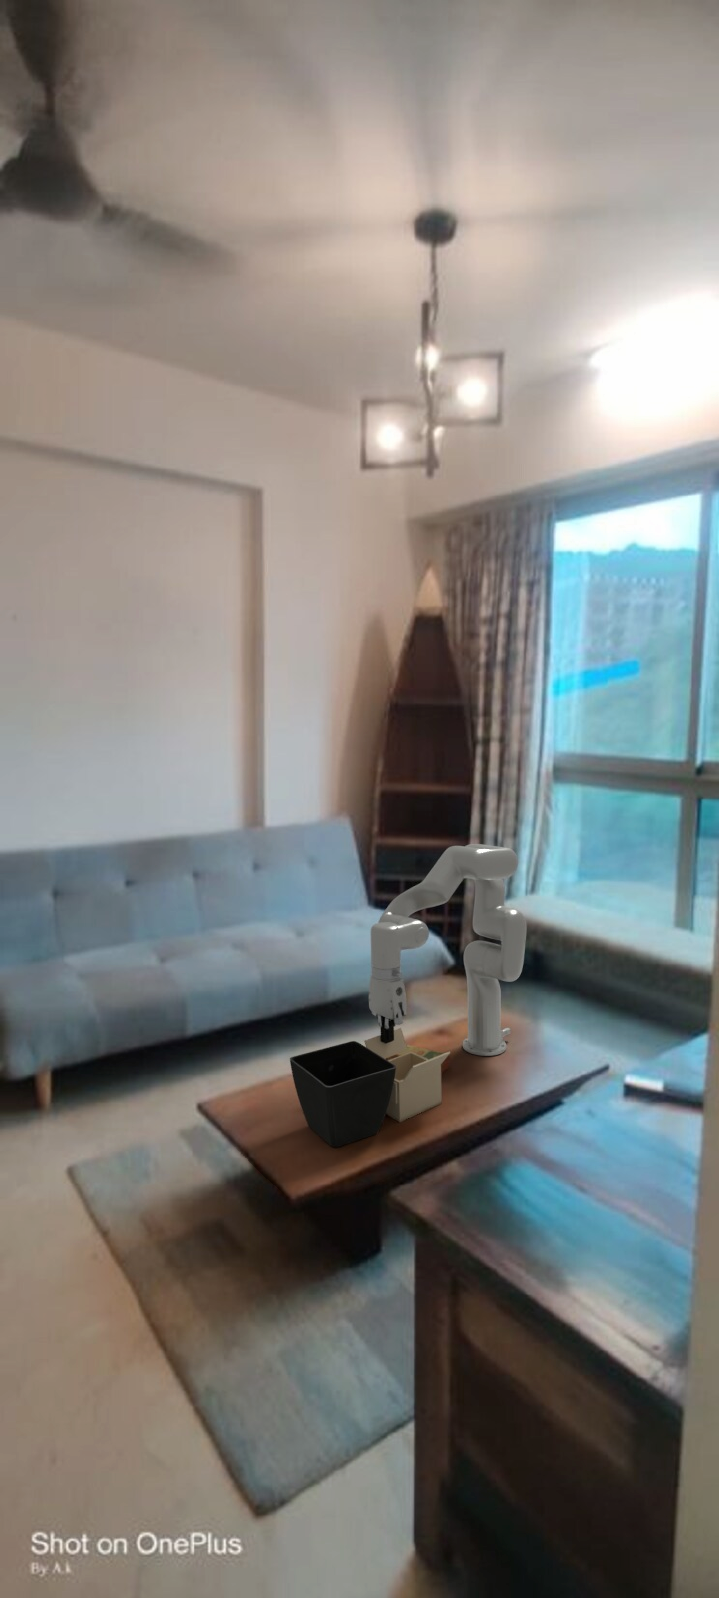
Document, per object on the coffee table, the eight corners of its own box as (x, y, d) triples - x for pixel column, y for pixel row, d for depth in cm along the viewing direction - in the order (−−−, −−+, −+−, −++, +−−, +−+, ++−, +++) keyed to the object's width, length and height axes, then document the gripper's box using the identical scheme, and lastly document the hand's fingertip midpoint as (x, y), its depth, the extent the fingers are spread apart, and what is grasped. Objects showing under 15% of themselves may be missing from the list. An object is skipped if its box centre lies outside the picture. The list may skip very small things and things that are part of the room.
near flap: (449, 1051, 193) (450, 1052, 193) (439, 1064, 197) (440, 1065, 197) (412, 1066, 186) (413, 1067, 186) (402, 1079, 189) (403, 1080, 189)
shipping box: (413, 1087, 207) (412, 1051, 206) (442, 1102, 199) (442, 1064, 198) (369, 1106, 198) (368, 1068, 197) (398, 1123, 190) (397, 1083, 189)
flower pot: (356, 1102, 200) (354, 1038, 199) (399, 1134, 185) (398, 1065, 183) (289, 1124, 190) (287, 1057, 189) (329, 1160, 175) (327, 1087, 173)
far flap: (408, 1049, 206) (407, 1050, 206) (401, 1027, 207) (400, 1027, 207) (372, 1063, 198) (371, 1063, 198) (365, 1040, 200) (364, 1040, 200)
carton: (399, 1055, 228) (399, 1041, 228) (450, 1068, 219) (450, 1053, 219) (385, 1066, 221) (384, 1051, 221) (436, 1079, 212) (436, 1064, 212)
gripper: (417, 975, 197) (418, 1046, 199) (377, 962, 208) (379, 1029, 210) (395, 982, 192) (396, 1054, 194) (355, 968, 204) (357, 1036, 206)
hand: (387, 1041), depth 202 cm, fingers closed
